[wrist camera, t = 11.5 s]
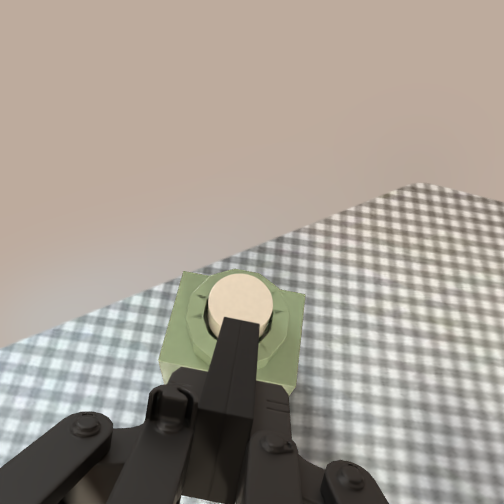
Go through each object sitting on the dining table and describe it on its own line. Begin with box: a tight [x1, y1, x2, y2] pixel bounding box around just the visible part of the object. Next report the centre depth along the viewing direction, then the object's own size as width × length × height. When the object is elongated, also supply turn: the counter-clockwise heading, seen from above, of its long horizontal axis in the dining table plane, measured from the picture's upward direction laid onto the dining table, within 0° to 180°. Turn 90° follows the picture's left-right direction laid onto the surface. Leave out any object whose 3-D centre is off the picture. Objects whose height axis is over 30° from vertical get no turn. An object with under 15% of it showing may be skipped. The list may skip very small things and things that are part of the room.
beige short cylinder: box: [208, 274, 273, 338], centre depth 30 cm, size 4×4×2 cm
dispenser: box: [158, 269, 305, 395], centre depth 37 cm, size 10×8×14 cm
